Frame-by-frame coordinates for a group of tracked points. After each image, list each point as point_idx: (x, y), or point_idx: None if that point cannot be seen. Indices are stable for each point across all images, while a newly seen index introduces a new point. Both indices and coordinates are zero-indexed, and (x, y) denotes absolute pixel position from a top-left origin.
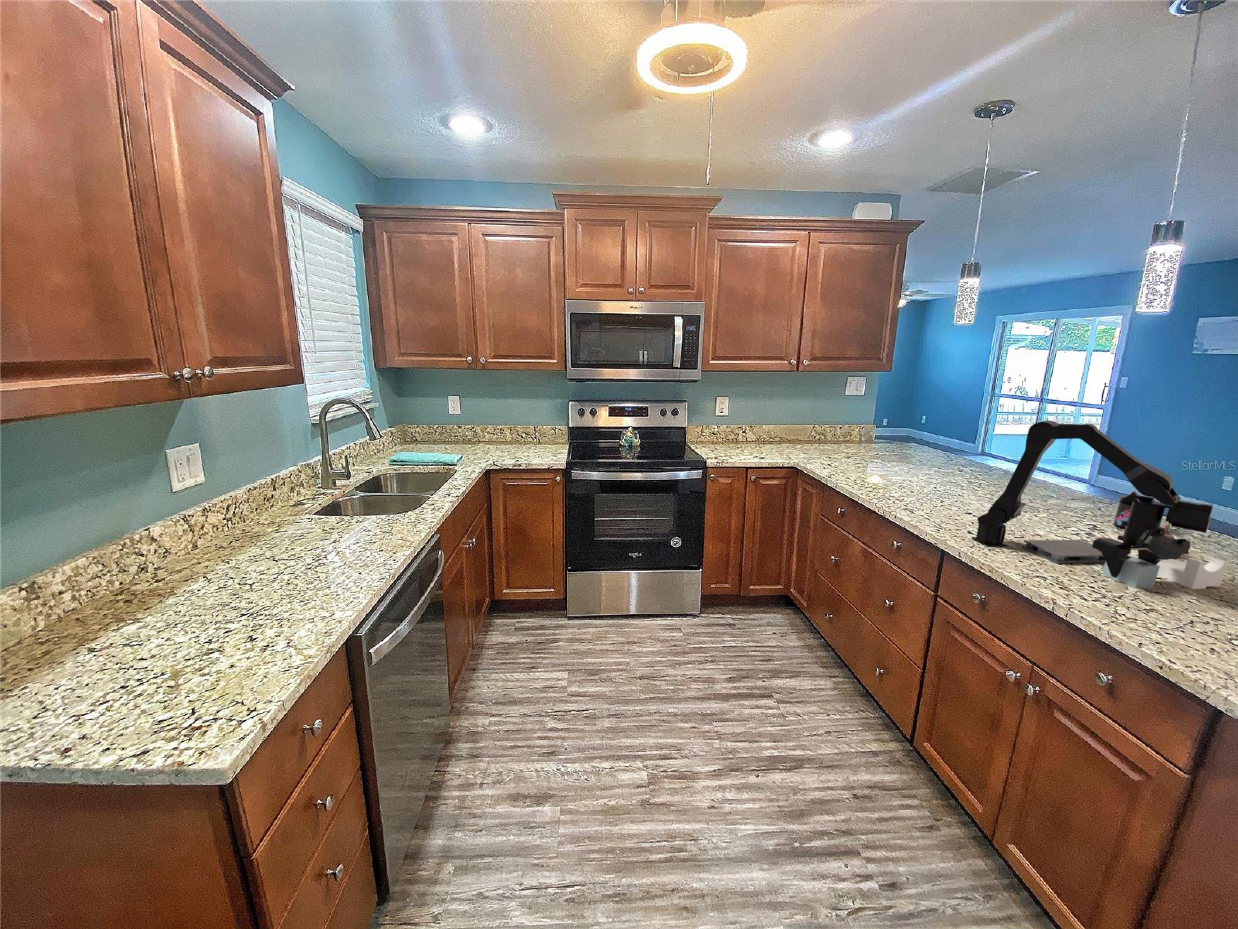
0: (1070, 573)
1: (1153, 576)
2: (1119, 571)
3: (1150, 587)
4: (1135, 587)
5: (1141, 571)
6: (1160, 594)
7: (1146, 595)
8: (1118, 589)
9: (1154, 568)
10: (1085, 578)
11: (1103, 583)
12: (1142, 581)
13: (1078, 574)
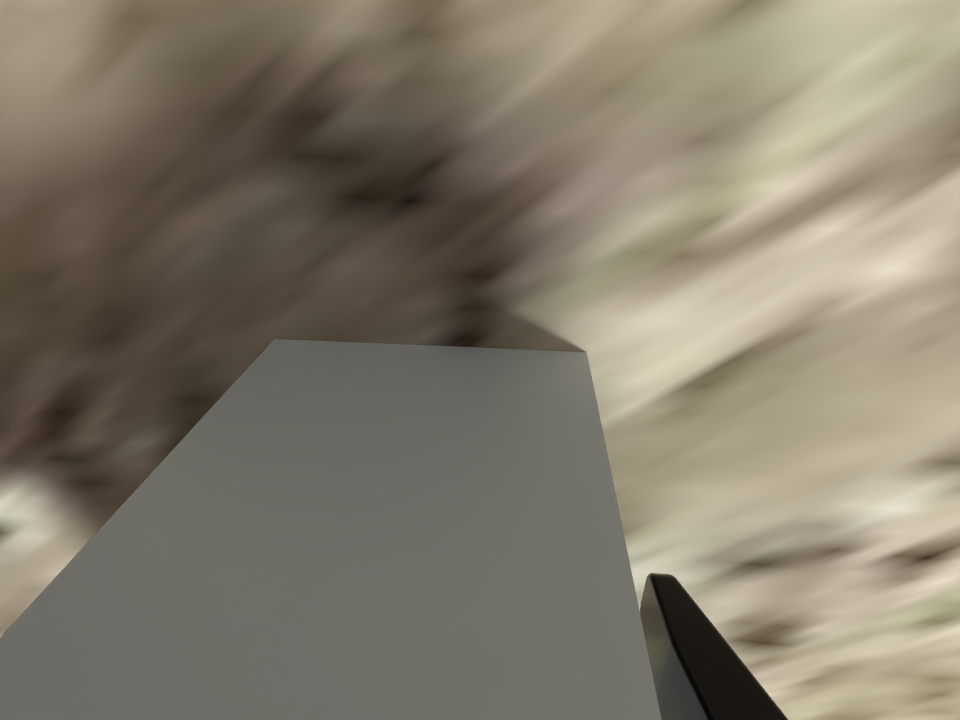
0: (938, 709)
1: (233, 472)
2: (704, 677)
3: (320, 344)
4: (583, 359)
5: (588, 613)
6: (398, 115)
7: (735, 91)
8: (947, 339)
9: (147, 671)
10: (940, 620)
11: (895, 505)
12: (483, 414)
13: (872, 686)
